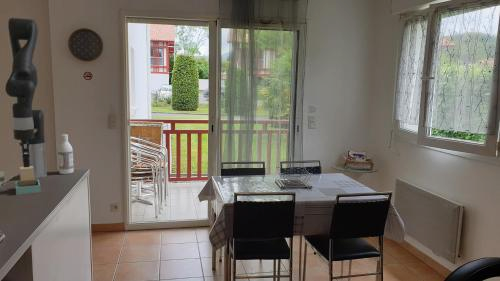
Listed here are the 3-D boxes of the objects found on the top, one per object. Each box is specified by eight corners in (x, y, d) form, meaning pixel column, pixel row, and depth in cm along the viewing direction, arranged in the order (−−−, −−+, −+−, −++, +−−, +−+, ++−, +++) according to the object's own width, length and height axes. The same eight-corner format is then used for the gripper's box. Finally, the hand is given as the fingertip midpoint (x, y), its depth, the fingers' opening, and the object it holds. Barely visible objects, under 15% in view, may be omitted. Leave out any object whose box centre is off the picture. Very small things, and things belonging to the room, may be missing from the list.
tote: (16, 189, 169) (15, 181, 169) (39, 186, 174) (38, 179, 173) (16, 196, 160) (15, 188, 159) (40, 193, 165) (40, 185, 164)
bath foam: (56, 173, 199) (53, 134, 196) (68, 170, 205) (66, 133, 201) (64, 174, 195) (62, 136, 192) (76, 172, 201) (74, 134, 198)
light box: (20, 178, 167) (19, 166, 166) (33, 176, 169) (33, 165, 169) (20, 180, 163) (19, 169, 162) (34, 179, 165) (33, 168, 164)
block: (20, 189, 168) (19, 177, 167) (35, 187, 171) (34, 176, 170) (20, 192, 163) (19, 181, 162) (36, 190, 166) (35, 179, 165)
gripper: (13, 125, 166) (16, 162, 169) (13, 130, 154) (16, 169, 157) (32, 125, 170) (35, 160, 173) (34, 129, 158) (37, 167, 161)
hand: (26, 164), depth 165 cm, fingers open, 8 cm apart
